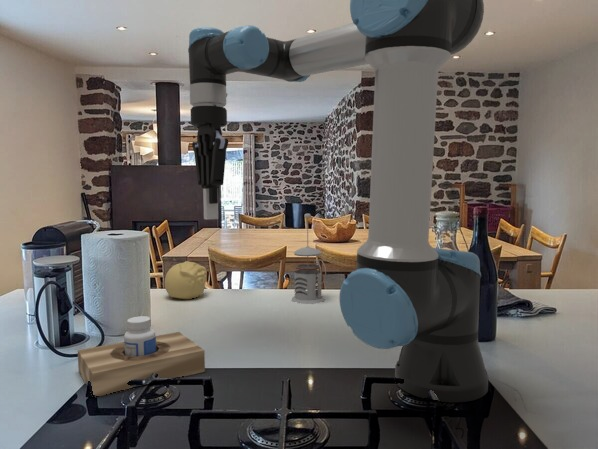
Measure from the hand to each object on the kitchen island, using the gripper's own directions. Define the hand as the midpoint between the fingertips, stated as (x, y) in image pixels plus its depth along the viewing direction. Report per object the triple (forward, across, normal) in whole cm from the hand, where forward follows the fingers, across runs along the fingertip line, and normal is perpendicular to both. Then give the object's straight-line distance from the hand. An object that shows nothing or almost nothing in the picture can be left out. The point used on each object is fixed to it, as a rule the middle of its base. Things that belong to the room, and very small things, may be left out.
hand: (211, 218), depth 105 cm
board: (+26, -10, +19) cm, 34 cm away
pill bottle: (+27, -9, +19) cm, 34 cm away
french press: (+27, +15, -37) cm, 48 cm away
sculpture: (+27, +40, -10) cm, 49 cm away
